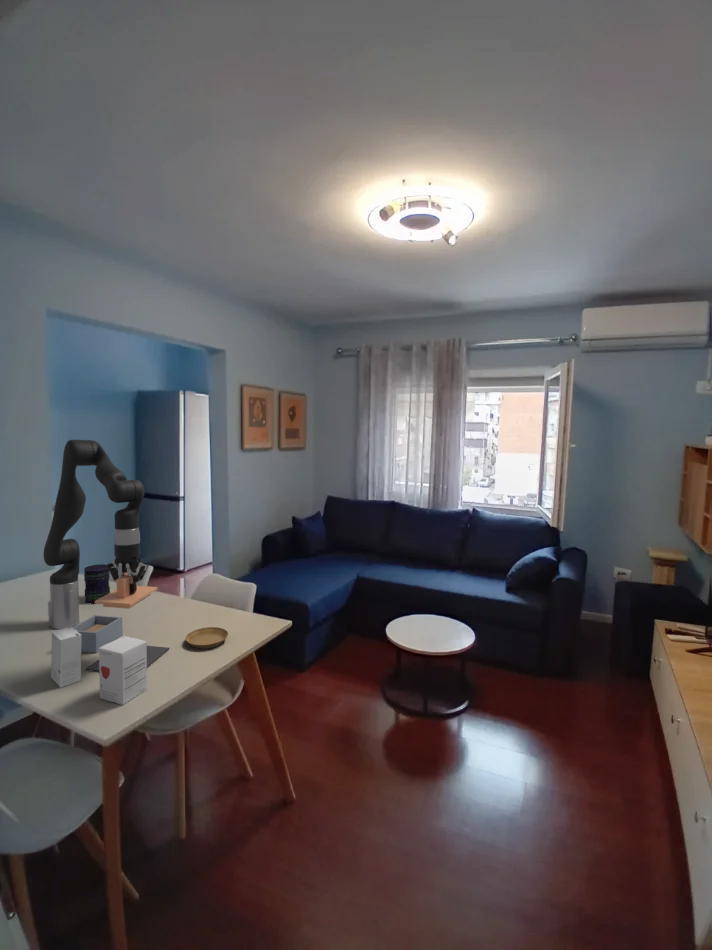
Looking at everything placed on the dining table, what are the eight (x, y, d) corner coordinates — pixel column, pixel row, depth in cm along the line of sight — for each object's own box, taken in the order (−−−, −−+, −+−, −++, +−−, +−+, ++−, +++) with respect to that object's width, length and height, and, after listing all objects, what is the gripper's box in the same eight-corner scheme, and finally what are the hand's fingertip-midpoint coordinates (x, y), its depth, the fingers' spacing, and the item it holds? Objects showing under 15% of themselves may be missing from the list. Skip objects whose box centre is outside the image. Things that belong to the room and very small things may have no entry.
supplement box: (98, 698, 130) (97, 647, 128) (124, 683, 138) (123, 634, 137) (122, 706, 126) (121, 653, 125) (148, 689, 135) (147, 640, 134)
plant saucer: (206, 655, 157) (206, 648, 157) (176, 645, 164) (176, 638, 164) (236, 639, 170) (236, 632, 169) (207, 630, 177) (207, 624, 176)
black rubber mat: (85, 670, 145) (85, 668, 145) (121, 645, 163) (121, 643, 162) (138, 675, 142) (138, 673, 142) (169, 649, 160) (169, 647, 160)
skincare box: (50, 678, 140) (49, 631, 138) (73, 671, 144) (71, 625, 143) (60, 688, 134) (59, 639, 133) (83, 680, 139) (81, 633, 138)
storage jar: (103, 594, 212) (103, 563, 211) (114, 599, 206) (113, 567, 205) (80, 600, 204) (79, 567, 203) (91, 605, 198) (90, 572, 197)
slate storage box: (96, 653, 156) (95, 633, 156) (67, 650, 158) (66, 630, 157) (122, 635, 170) (122, 617, 169) (95, 633, 171) (95, 615, 171)
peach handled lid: (130, 611, 142) (129, 585, 141) (95, 608, 144) (93, 582, 143) (157, 593, 157) (157, 570, 156) (125, 591, 159) (124, 567, 158)
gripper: (99, 543, 146) (100, 595, 148) (140, 545, 145) (141, 599, 146) (115, 537, 154) (116, 588, 155) (153, 540, 152) (154, 591, 153)
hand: (128, 593), depth 151 cm, fingers closed on peach handled lid, 2 cm apart
